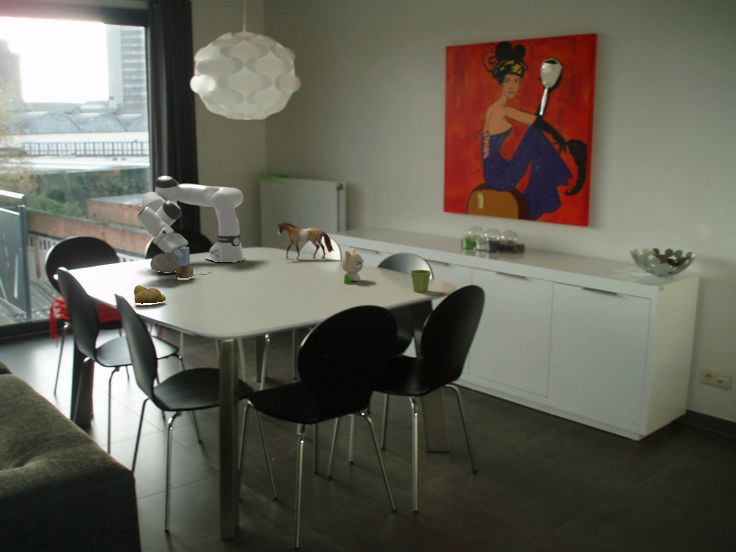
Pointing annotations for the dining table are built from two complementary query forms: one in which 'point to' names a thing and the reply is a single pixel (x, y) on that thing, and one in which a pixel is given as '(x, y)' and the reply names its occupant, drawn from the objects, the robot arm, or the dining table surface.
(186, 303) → the dining table surface
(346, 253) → the kitten
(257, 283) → the dining table surface
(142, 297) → the bread roll
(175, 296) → the dining table surface
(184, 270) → the walnut cube
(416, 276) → the plant pot
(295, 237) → the horse figurine
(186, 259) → the blue brick
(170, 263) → the decorative shell
